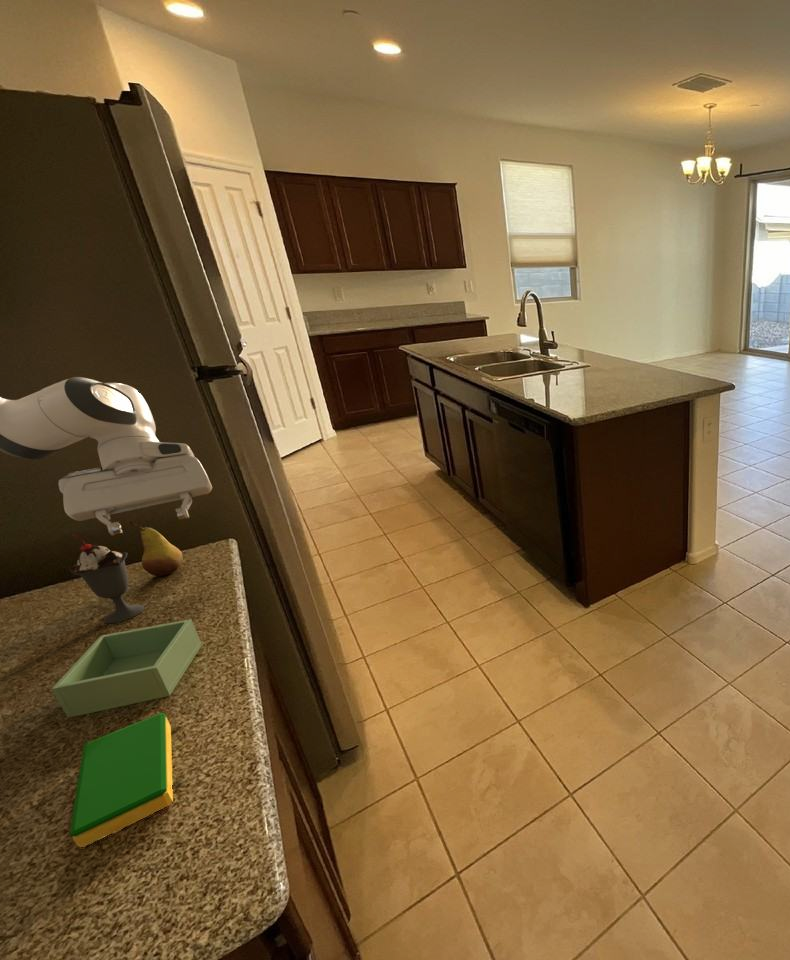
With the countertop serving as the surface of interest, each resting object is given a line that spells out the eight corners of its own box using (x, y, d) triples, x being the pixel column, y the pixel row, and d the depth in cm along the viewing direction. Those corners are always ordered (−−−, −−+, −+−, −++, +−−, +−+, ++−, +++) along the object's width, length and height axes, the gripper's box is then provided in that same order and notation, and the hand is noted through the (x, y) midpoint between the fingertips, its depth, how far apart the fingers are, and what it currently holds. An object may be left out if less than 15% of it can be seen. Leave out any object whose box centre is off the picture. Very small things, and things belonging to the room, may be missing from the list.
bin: (67, 718, 66) (50, 689, 64) (114, 662, 75) (100, 635, 74) (170, 695, 69) (156, 667, 67) (202, 644, 79) (191, 618, 77)
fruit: (191, 570, 98) (168, 513, 93) (151, 584, 94) (125, 525, 89) (183, 561, 101) (160, 505, 97) (144, 574, 97) (118, 516, 92)
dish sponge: (171, 725, 65) (164, 710, 64) (173, 805, 55) (165, 789, 54) (92, 758, 61) (83, 743, 60) (79, 852, 51) (68, 835, 50)
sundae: (100, 611, 86) (60, 532, 81) (153, 597, 90) (118, 520, 84) (92, 632, 82) (49, 549, 76) (148, 616, 85) (111, 536, 79)
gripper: (48, 467, 91) (63, 537, 87) (196, 442, 102) (215, 503, 99) (63, 483, 96) (79, 549, 92) (204, 457, 107) (221, 516, 104)
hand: (150, 525), depth 96 cm, fingers open, 8 cm apart
